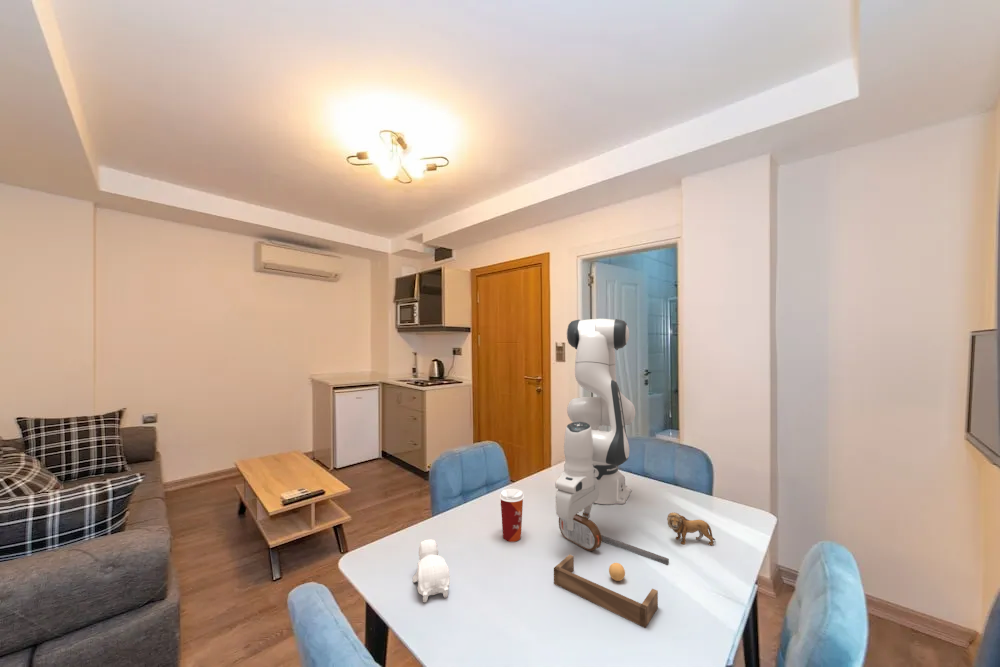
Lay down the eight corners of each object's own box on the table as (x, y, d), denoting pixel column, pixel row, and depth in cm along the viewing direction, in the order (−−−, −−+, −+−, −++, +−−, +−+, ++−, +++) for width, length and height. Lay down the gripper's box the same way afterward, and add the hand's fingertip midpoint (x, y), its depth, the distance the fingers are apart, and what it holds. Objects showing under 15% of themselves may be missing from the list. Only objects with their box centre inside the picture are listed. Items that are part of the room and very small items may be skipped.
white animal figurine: (451, 605, 95) (441, 552, 108) (454, 580, 92) (443, 529, 105) (416, 613, 92) (410, 558, 105) (418, 588, 89) (411, 535, 102)
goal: (569, 569, 104) (569, 554, 104) (657, 607, 89) (657, 590, 89) (553, 583, 98) (553, 567, 98) (645, 627, 83) (645, 609, 83)
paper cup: (522, 545, 116) (522, 498, 117) (497, 542, 118) (497, 496, 118) (525, 532, 124) (525, 488, 124) (502, 529, 126) (502, 486, 126)
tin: (602, 553, 112) (602, 524, 112) (595, 557, 110) (595, 527, 110) (563, 532, 124) (563, 506, 124) (557, 535, 122) (556, 509, 122)
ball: (612, 572, 103) (612, 557, 103) (627, 578, 100) (627, 563, 100) (606, 580, 100) (606, 564, 100) (621, 586, 97) (621, 570, 97)
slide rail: (567, 526, 128) (567, 522, 128) (668, 563, 107) (668, 558, 107) (565, 528, 127) (565, 524, 127) (667, 565, 106) (667, 560, 106)
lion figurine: (672, 547, 115) (671, 517, 115) (663, 538, 120) (663, 509, 120) (720, 545, 116) (719, 515, 116) (709, 536, 121) (709, 508, 121)
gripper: (585, 467, 127) (585, 509, 126) (551, 484, 111) (552, 532, 111) (603, 471, 123) (603, 515, 122) (571, 489, 107) (571, 539, 107)
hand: (578, 523), depth 116 cm, fingers open, 8 cm apart
